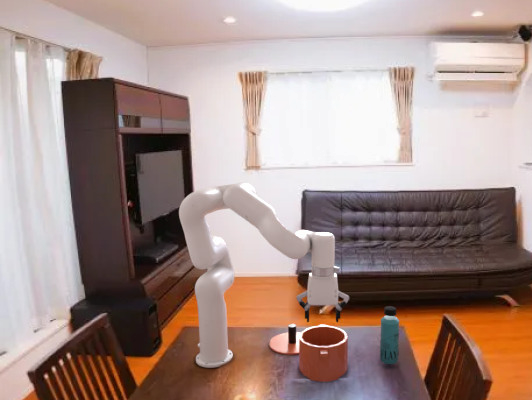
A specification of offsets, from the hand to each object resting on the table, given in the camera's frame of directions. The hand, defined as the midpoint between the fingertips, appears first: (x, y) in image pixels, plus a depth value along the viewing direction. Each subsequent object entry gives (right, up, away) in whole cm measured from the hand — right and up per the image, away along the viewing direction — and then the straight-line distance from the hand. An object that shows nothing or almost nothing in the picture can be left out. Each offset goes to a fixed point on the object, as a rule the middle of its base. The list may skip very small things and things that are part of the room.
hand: (322, 320), depth 141 cm
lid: (-11, -14, +19) cm, 26 cm away
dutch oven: (0, -17, +2) cm, 17 cm away
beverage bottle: (+23, -16, +5) cm, 29 cm away
